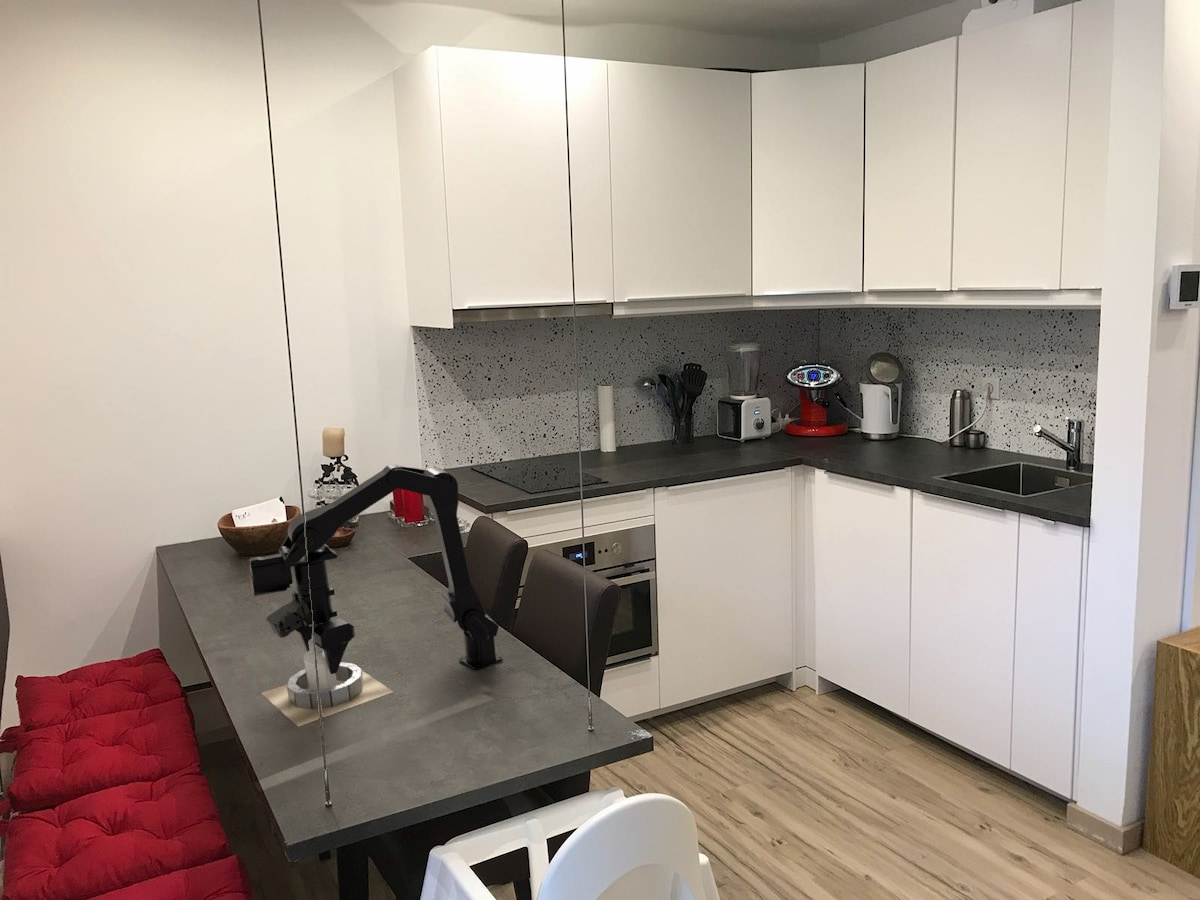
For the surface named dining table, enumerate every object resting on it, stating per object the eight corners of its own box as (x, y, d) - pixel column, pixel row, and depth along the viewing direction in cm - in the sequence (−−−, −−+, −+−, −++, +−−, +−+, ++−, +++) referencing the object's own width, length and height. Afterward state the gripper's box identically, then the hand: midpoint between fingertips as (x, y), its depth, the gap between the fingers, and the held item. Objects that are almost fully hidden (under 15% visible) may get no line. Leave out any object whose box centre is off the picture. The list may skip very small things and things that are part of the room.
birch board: (394, 697, 173) (393, 691, 172) (299, 732, 162) (298, 726, 161) (352, 668, 186) (351, 663, 186) (261, 699, 175) (260, 693, 175)
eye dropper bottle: (316, 702, 170) (306, 643, 167) (307, 689, 175) (297, 631, 171) (340, 694, 172) (330, 635, 169) (330, 681, 177) (321, 624, 173)
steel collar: (374, 691, 173) (372, 676, 172) (306, 716, 165) (304, 700, 164) (344, 670, 183) (343, 656, 182) (279, 693, 175) (277, 678, 174)
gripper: (250, 584, 172) (261, 664, 175) (288, 610, 158) (300, 696, 161) (308, 569, 179) (318, 646, 182) (351, 592, 164) (361, 675, 167)
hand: (323, 665), depth 173 cm, fingers open, 9 cm apart
